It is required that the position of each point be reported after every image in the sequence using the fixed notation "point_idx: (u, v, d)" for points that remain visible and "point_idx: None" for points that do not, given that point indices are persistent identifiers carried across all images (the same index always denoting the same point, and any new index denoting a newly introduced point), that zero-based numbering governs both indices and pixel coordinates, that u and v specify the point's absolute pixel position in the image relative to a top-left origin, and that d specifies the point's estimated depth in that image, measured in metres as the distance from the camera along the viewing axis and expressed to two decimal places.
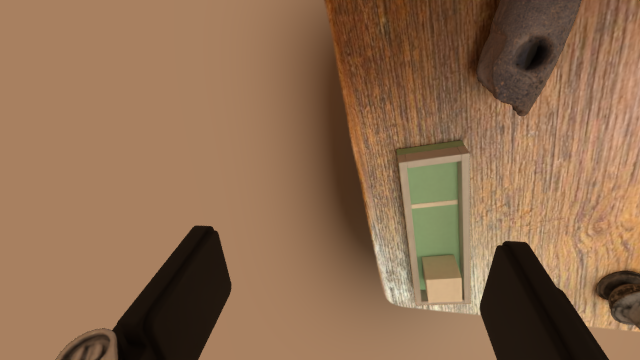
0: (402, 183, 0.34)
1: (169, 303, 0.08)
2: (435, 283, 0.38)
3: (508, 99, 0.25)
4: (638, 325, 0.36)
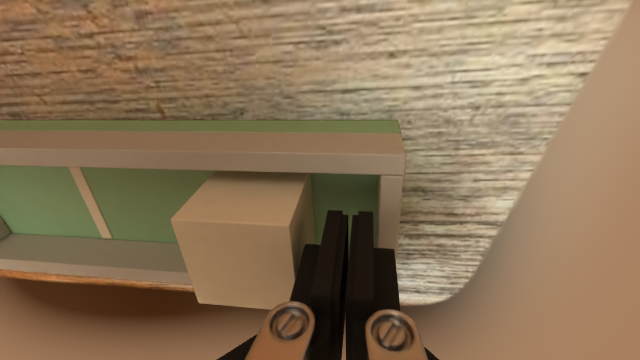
0: (9, 268, 0.16)
1: (341, 280, 0.09)
2: (207, 286, 0.12)
3: None
4: None
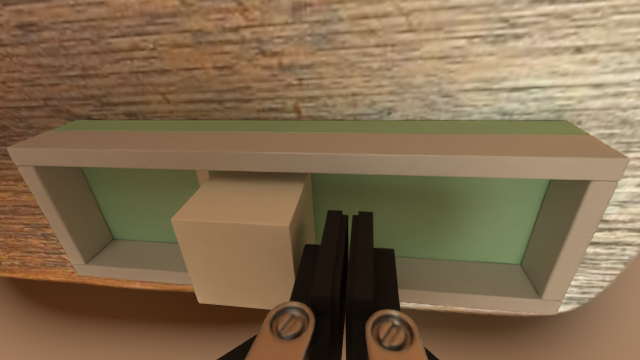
0: (122, 277, 0.15)
1: (341, 280, 0.09)
2: (207, 286, 0.12)
3: None
4: None
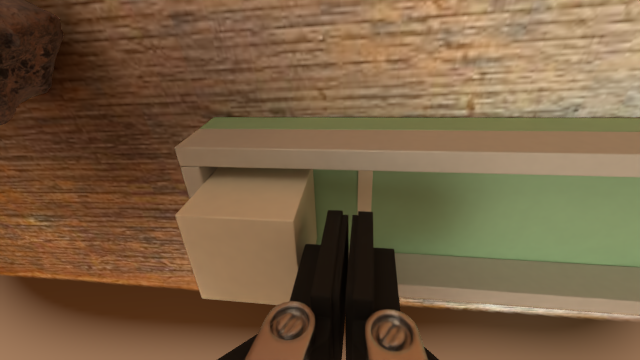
0: None
1: (341, 280, 0.09)
2: (211, 282, 0.12)
3: None
4: None
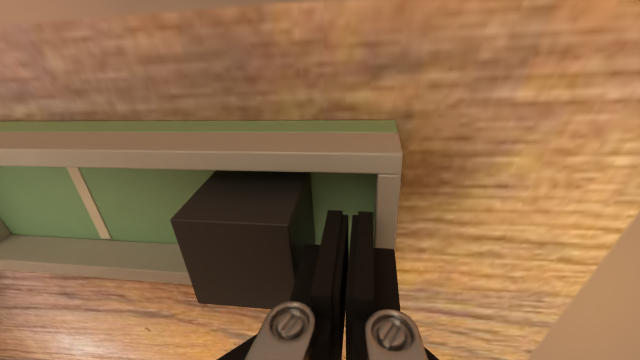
0: None
1: (341, 280, 0.09)
2: None
3: None
4: None
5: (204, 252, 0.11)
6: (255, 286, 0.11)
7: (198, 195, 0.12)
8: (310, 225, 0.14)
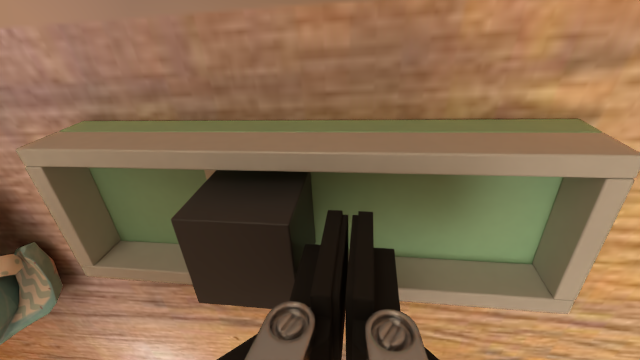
0: None
1: (341, 280, 0.09)
2: None
3: None
4: None
5: (205, 252, 0.11)
6: (255, 286, 0.11)
7: (198, 194, 0.12)
8: (310, 225, 0.14)
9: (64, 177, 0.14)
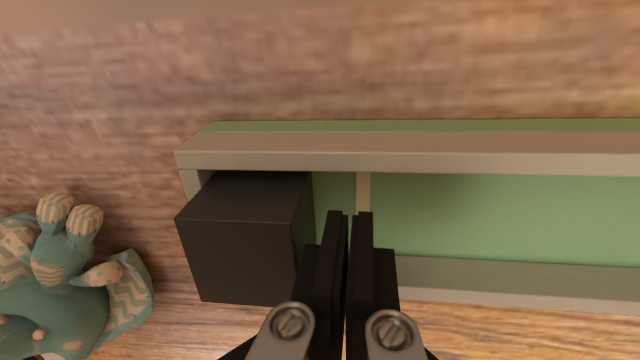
0: None
1: (341, 280, 0.09)
2: None
3: None
4: None
5: (207, 251, 0.11)
6: (257, 284, 0.11)
7: (201, 194, 0.12)
8: (311, 224, 0.14)
9: None
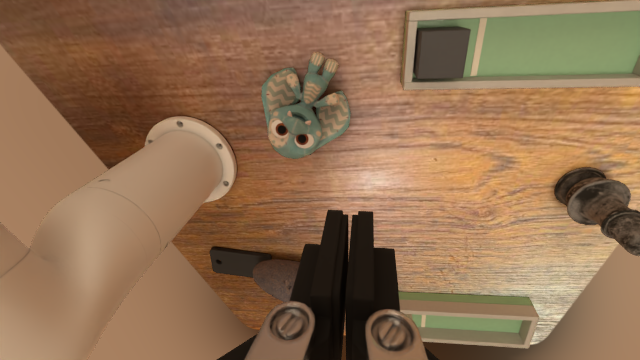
0: None
1: (341, 280, 0.09)
2: None
3: None
4: None
5: (431, 47, 0.28)
6: (447, 64, 0.28)
7: (422, 29, 0.28)
8: None
9: None
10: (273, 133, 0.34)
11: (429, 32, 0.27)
